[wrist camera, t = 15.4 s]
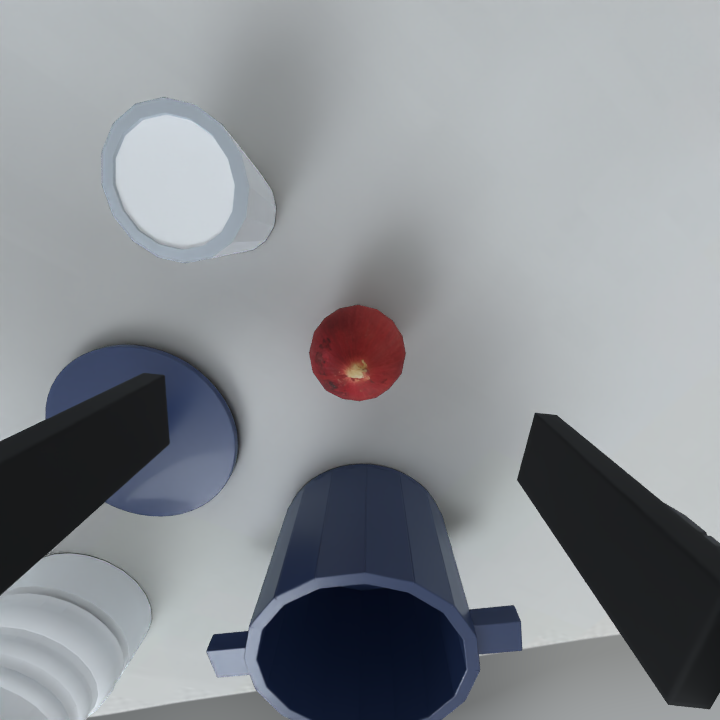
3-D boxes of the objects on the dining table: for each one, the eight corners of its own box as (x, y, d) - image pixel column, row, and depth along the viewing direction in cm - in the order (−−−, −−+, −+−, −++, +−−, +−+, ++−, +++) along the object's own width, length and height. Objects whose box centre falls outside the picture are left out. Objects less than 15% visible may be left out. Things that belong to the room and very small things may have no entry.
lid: (27, 358, 25) (-141, 406, 17) (210, 327, 24) (127, 362, 16) (101, 515, 29) (-6, 617, 21) (261, 495, 28) (215, 593, 20)
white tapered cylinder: (288, 263, 23) (253, 264, 16) (188, 261, 23) (113, 261, 16) (283, 149, 21) (242, 96, 14) (174, 147, 21) (82, 94, 14)
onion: (348, 391, 25) (338, 447, 18) (303, 328, 24) (272, 360, 16) (413, 350, 24) (434, 392, 17) (371, 283, 23) (371, 294, 15)
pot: (238, 479, 28) (169, 593, 18) (467, 448, 26) (523, 555, 17) (276, 600, 32) (236, 748, 22) (479, 579, 30) (530, 727, 21)
